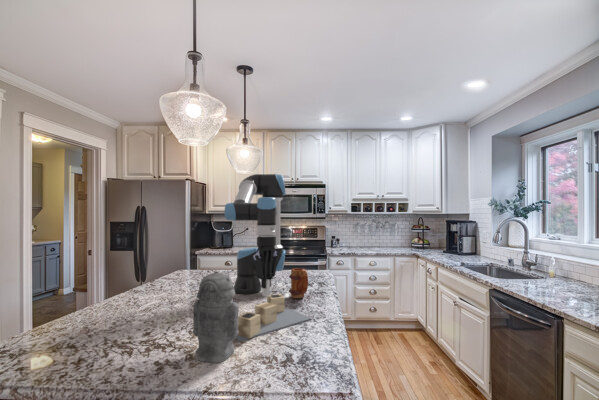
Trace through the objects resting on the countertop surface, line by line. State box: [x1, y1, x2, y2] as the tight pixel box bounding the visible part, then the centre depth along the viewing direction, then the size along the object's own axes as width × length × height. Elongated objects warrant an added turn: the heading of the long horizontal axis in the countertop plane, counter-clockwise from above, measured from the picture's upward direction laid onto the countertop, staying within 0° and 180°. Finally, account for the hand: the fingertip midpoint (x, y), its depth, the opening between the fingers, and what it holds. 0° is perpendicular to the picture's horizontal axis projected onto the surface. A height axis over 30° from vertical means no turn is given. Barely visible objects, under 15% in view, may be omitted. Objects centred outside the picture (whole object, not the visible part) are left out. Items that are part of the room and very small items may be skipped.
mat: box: [234, 306, 312, 342], centre depth 114 cm, size 20×32×1 cm, turn 129°
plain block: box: [254, 301, 277, 325], centre depth 114 cm, size 6×6×6 cm
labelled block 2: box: [266, 293, 285, 312], centre depth 126 cm, size 6×6×6 cm
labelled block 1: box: [238, 311, 260, 339], centre depth 102 cm, size 6×6×6 cm
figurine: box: [192, 270, 240, 364], centre depth 88 cm, size 10×14×25 cm
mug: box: [288, 267, 309, 299], centre depth 145 cm, size 15×8×15 cm, turn 25°
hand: (266, 295), depth 114 cm, fingers closed
